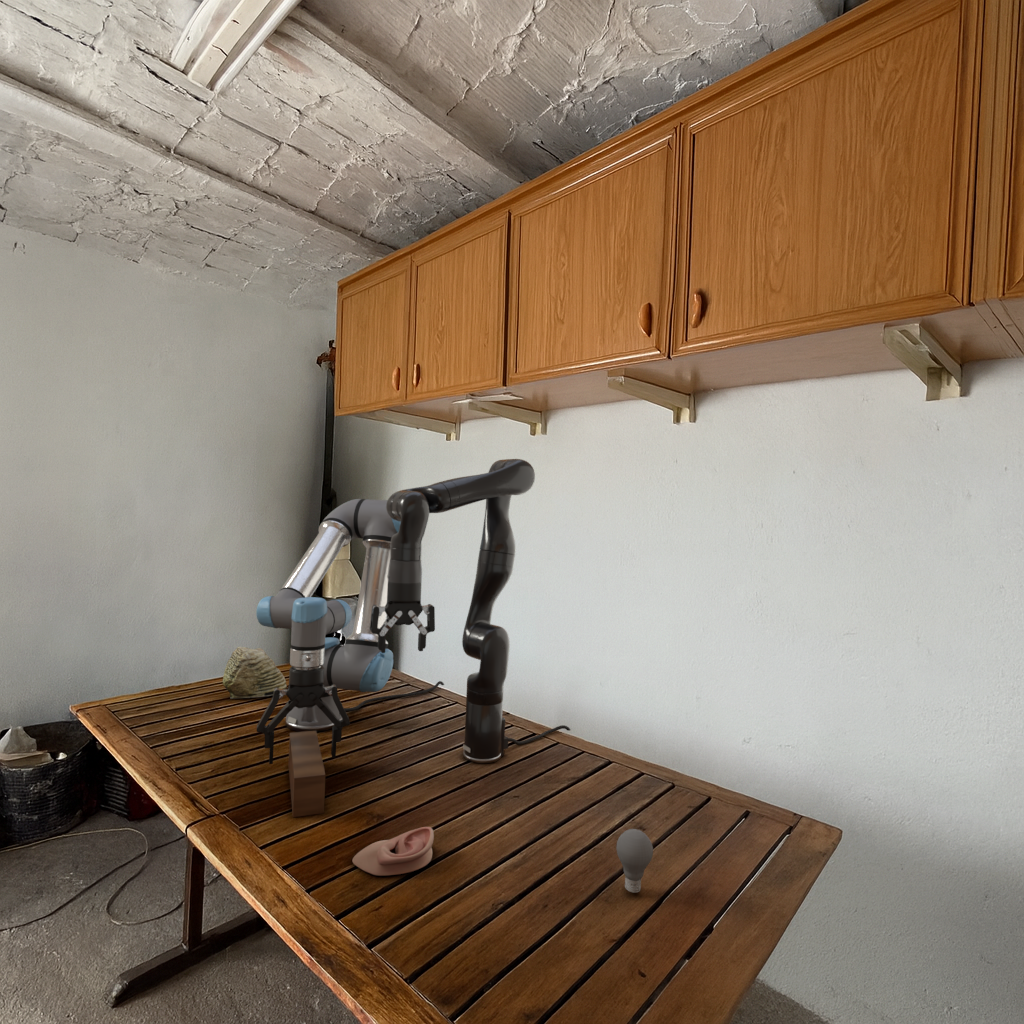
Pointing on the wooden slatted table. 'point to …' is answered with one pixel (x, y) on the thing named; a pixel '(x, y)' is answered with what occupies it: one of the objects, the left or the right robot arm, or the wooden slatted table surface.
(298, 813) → the bar
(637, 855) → the light bulb
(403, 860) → the anatomical model
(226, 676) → the fossil
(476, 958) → the wooden slatted table surface
